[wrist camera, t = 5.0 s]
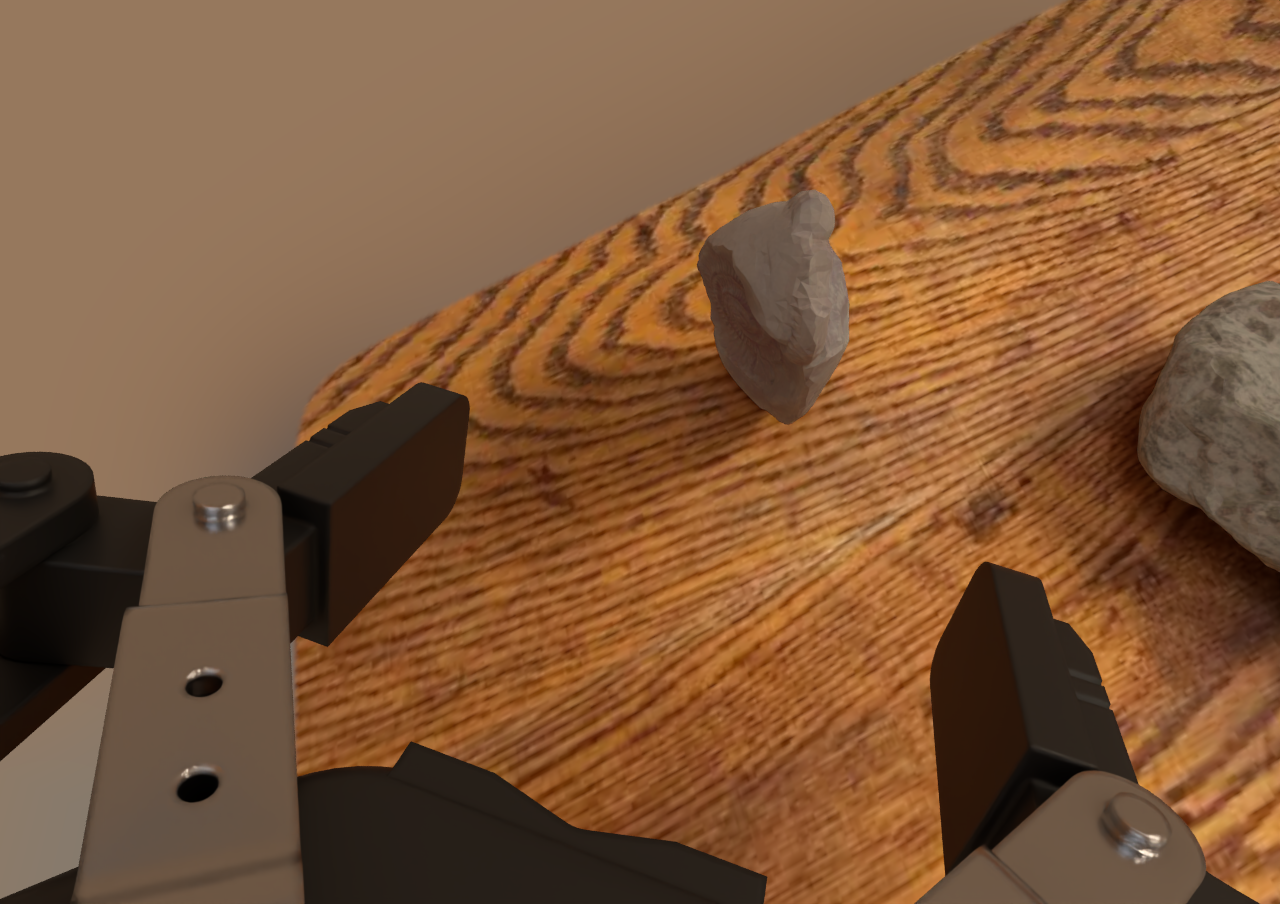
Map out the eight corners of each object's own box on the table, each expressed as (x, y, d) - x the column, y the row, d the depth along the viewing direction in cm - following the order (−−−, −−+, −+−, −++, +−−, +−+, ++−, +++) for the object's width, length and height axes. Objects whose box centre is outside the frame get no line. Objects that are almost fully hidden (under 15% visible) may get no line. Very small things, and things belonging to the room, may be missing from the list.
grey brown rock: (681, 324, 29) (685, 144, 20) (766, 285, 30) (810, 89, 20) (756, 461, 28) (800, 337, 18) (845, 419, 28) (934, 274, 19)
